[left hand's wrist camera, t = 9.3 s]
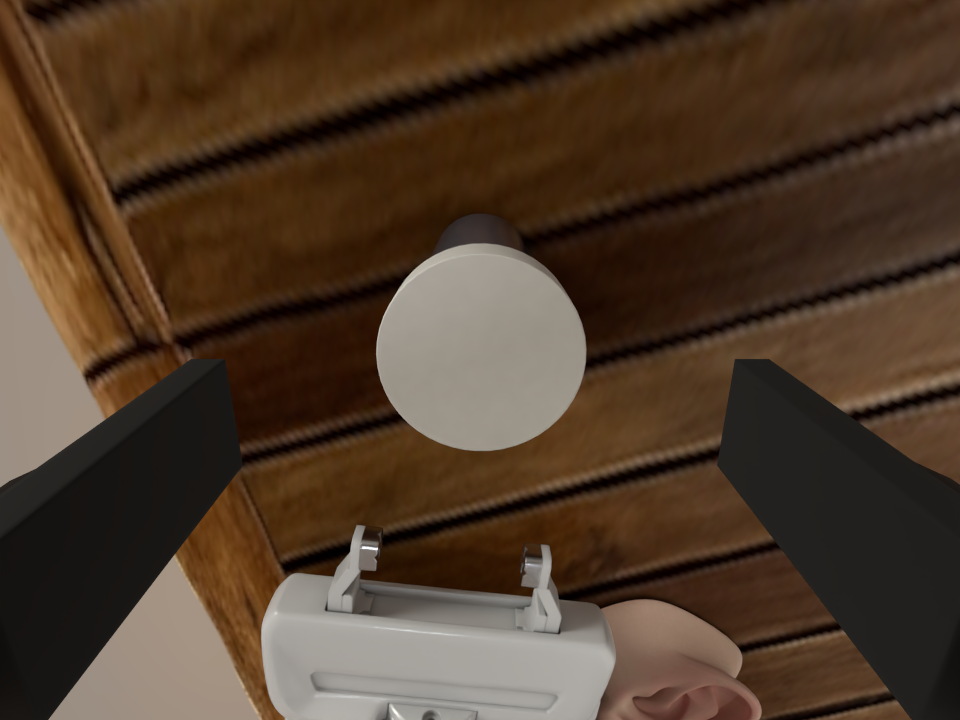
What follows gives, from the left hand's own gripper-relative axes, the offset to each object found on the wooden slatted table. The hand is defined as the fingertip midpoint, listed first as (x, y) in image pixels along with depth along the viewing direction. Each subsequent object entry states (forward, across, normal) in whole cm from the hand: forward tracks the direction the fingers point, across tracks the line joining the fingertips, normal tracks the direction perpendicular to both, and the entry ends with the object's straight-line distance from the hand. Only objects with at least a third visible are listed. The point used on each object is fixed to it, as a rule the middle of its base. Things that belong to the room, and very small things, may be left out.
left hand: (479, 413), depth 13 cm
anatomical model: (+20, -12, +30) cm, 37 cm away
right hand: (+14, +2, +14) cm, 20 cm away
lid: (+4, 0, 0) cm, 4 cm away
